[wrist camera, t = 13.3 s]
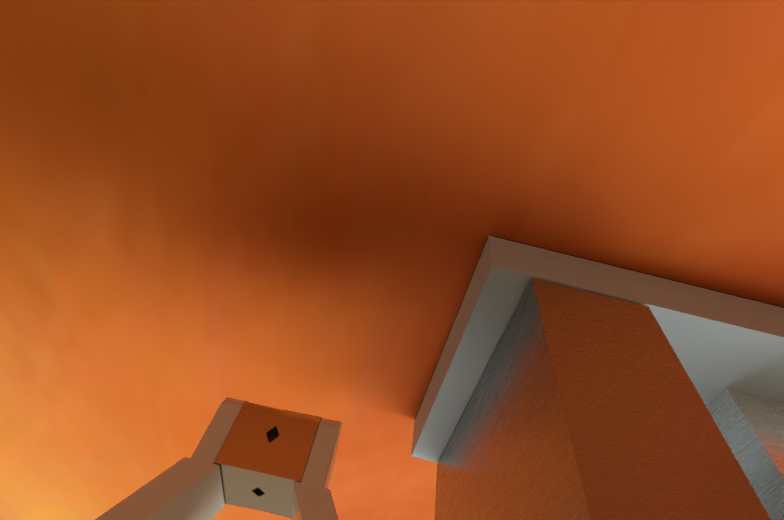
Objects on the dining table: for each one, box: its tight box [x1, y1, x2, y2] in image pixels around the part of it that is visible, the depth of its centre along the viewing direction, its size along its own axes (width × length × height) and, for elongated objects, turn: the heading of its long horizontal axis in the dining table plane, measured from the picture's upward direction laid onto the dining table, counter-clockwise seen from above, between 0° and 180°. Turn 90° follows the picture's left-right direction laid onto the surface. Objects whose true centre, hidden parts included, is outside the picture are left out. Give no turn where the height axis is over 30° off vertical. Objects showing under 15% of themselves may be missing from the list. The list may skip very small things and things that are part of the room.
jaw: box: [435, 278, 771, 520], centre depth 11 cm, size 3×9×6 cm, turn 168°
